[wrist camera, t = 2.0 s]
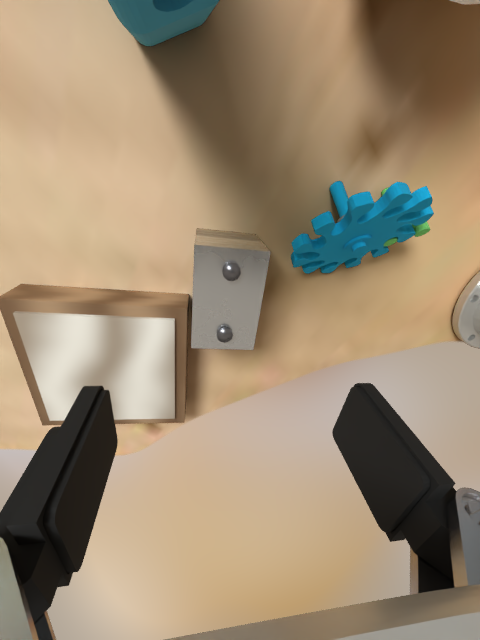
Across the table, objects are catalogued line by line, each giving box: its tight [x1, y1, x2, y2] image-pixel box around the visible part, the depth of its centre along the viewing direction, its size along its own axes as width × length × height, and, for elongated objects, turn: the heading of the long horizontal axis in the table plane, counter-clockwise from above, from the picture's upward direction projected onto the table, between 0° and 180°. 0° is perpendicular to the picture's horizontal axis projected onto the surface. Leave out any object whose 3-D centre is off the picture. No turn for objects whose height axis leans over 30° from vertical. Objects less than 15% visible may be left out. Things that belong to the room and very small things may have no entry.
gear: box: [291, 181, 434, 274], centre depth 20 cm, size 11×6×10 cm
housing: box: [191, 228, 271, 350], centre depth 21 cm, size 5×8×6 cm, turn 173°
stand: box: [0, 284, 189, 425], centre depth 25 cm, size 14×14×3 cm
